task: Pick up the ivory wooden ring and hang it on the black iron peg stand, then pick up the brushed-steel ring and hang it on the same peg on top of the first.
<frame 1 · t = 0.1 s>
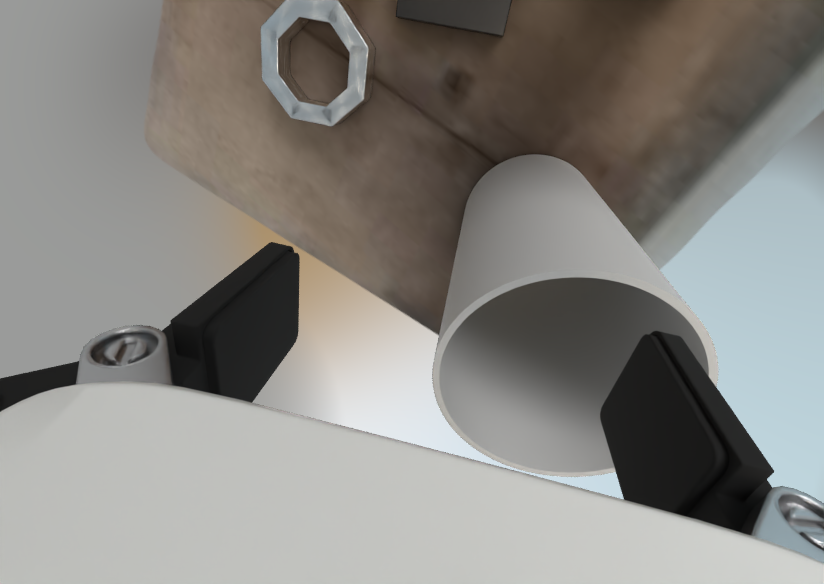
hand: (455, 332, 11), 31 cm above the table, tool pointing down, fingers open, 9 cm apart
steel ring: (323, 63, 37), on the table
cylinder vase: (526, 216, 40), on the table
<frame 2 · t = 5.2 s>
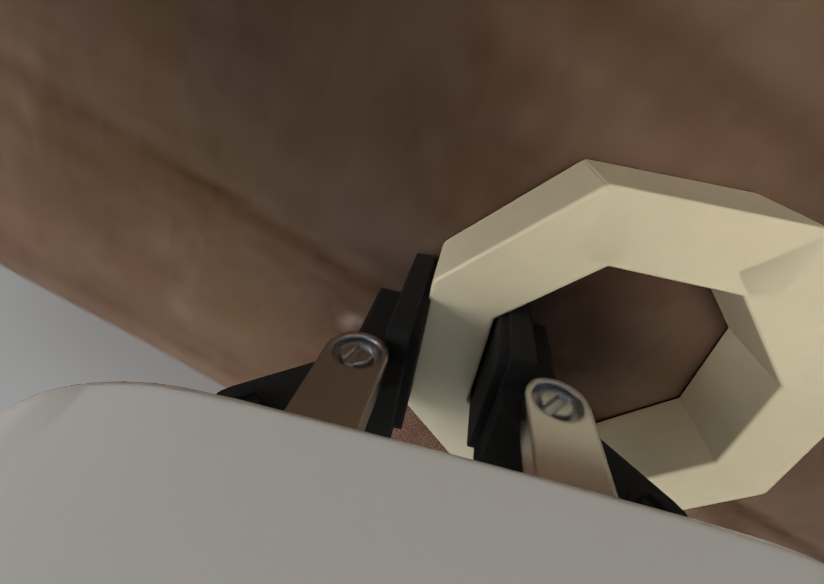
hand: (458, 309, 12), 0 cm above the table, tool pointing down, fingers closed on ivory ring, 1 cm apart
ivory ring: (590, 337, 12), on the table, touching gripper
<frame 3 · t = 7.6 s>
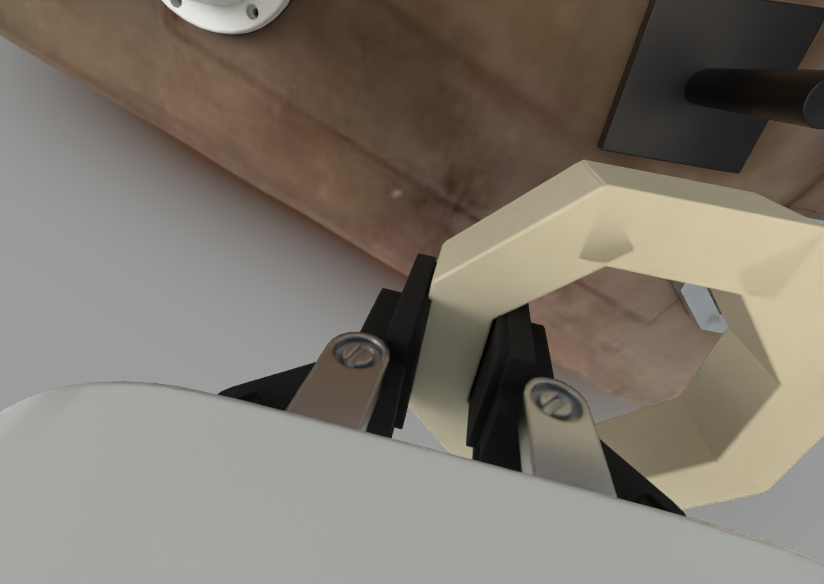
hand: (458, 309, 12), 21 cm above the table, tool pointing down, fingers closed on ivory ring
steel ring: (745, 266, 30), on the table
ivory ring: (589, 337, 12), point 21 cm above the table, touching gripper
stand: (695, 86, 25), on the table
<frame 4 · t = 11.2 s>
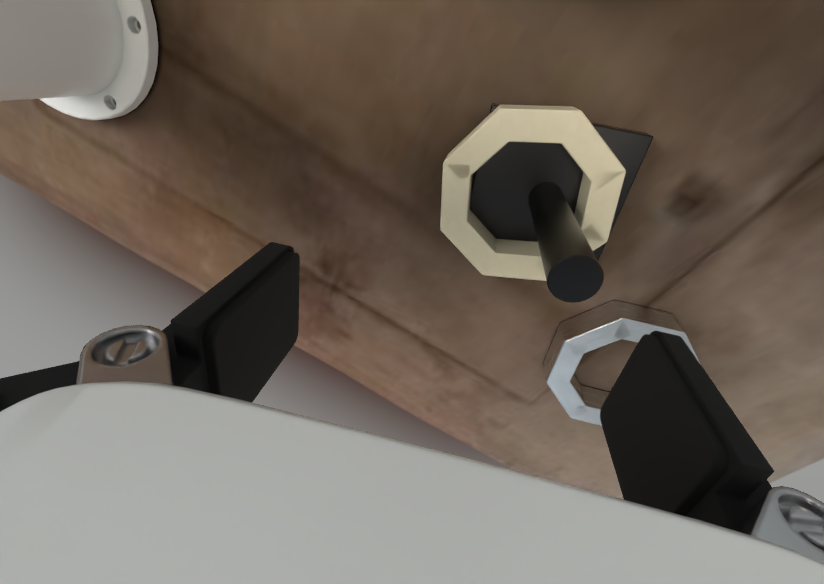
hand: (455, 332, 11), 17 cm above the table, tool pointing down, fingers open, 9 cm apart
steel ring: (613, 358, 30), on the table
ivory ring: (523, 191, 25), point 1 cm above the table, touching stand
stand: (543, 193, 26), on the table
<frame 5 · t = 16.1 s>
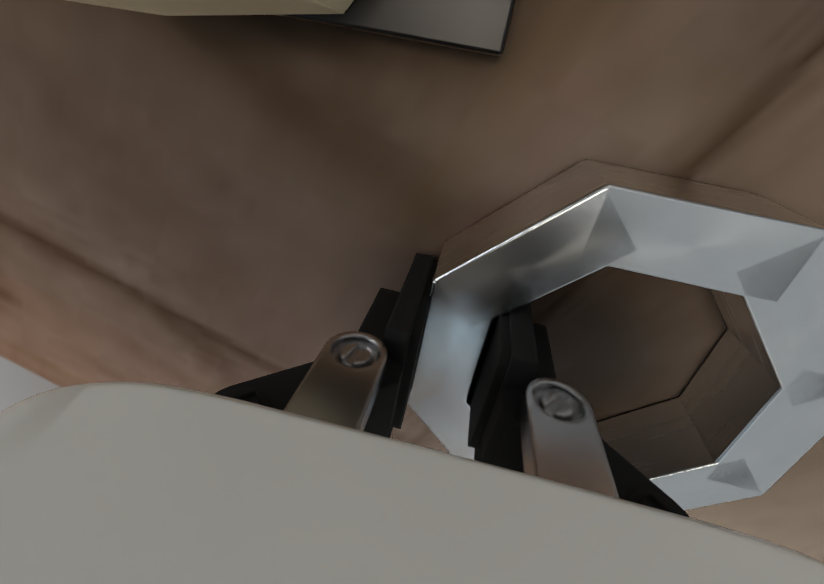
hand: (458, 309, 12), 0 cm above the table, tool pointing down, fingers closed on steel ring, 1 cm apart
steel ring: (589, 337, 12), on the table, touching gripper
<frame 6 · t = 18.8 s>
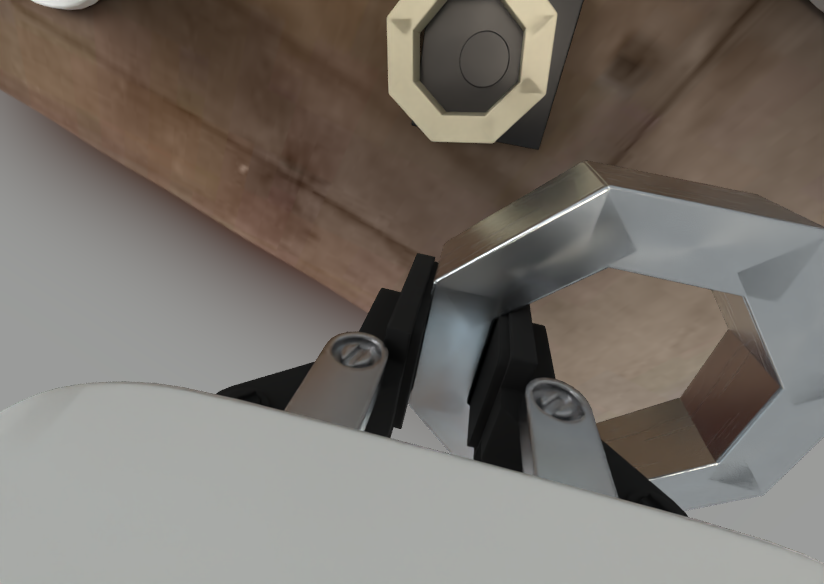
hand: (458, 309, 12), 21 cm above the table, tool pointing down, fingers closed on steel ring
steel ring: (590, 338, 12), point 21 cm above the table, touching gripper
ivory ring: (469, 57, 26), point 1 cm above the table, touching stand
stand: (490, 63, 27), on the table
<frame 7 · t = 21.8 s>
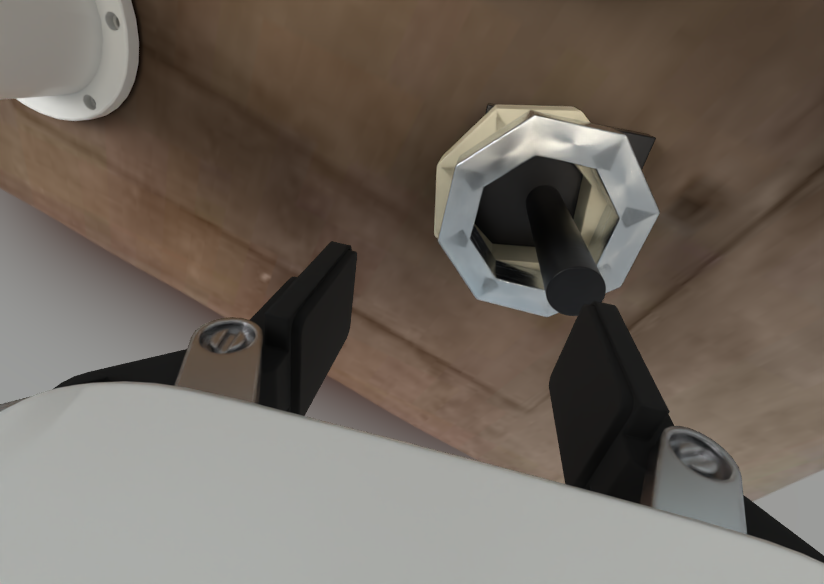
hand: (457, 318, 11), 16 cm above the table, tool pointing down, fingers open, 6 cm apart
steel ring: (536, 213, 22), point 4 cm above the table, touching ivory ring
ivory ring: (521, 194, 24), point 1 cm above the table, touching stand, steel ring
stand: (541, 196, 25), on the table
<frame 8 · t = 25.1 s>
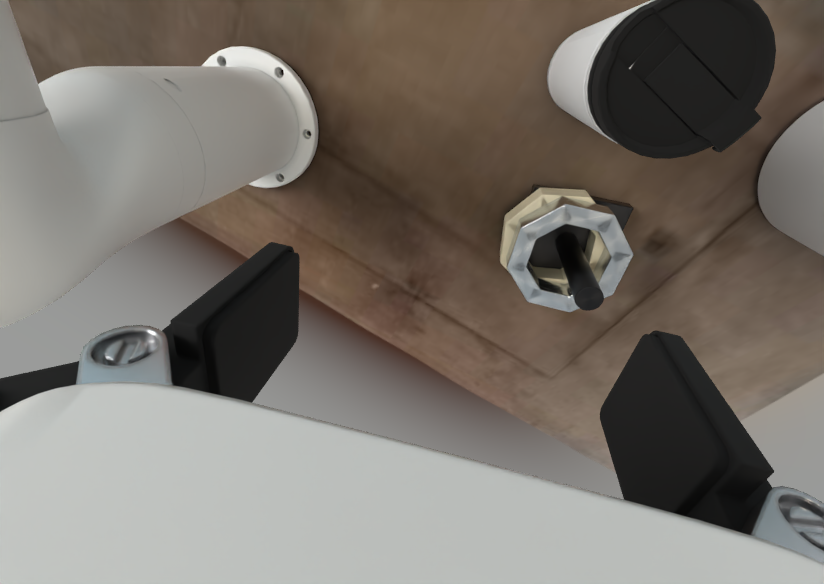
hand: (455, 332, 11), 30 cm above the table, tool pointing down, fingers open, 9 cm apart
steel ring: (563, 251, 37), point 4 cm above the table, touching ivory ring
ivory ring: (552, 237, 39), point 1 cm above the table, touching stand, steel ring
travel mug: (587, 73, 33), on the table
stand: (564, 237, 40), on the table
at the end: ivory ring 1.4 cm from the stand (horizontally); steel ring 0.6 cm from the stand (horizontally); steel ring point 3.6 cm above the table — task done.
